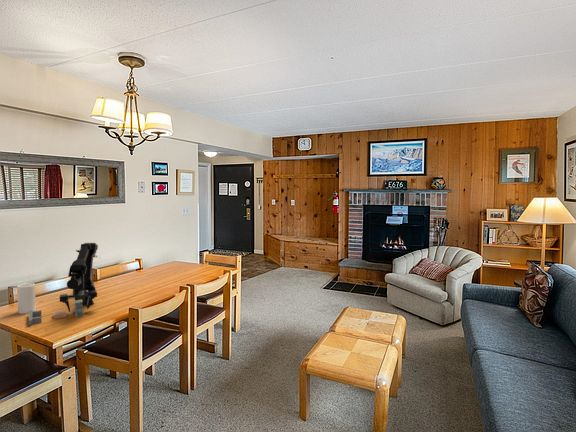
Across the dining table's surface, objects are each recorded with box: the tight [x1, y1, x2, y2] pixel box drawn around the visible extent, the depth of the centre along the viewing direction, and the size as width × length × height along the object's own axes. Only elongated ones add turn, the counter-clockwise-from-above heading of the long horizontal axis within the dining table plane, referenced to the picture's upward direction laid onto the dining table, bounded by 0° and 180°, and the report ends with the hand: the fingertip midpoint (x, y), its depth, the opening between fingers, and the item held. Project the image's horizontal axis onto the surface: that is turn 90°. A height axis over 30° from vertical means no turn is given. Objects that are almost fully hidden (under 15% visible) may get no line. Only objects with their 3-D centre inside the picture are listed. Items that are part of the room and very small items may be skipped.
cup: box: [16, 282, 36, 315], centre depth 202 cm, size 8×8×16 cm
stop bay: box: [28, 309, 42, 327], centre depth 190 cm, size 18×6×3 cm, turn 36°
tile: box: [52, 309, 67, 319], centre depth 197 cm, size 6×6×2 cm
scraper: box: [73, 300, 84, 318], centre depth 202 cm, size 12×3×6 cm, turn 36°
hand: (78, 310), depth 202 cm, fingers open, 9 cm apart
